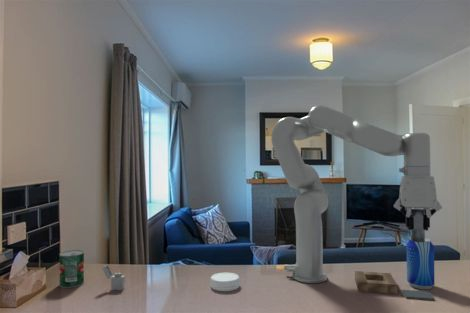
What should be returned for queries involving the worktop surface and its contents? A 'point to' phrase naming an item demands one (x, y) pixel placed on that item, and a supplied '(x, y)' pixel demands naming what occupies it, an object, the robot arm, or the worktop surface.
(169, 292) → the worktop surface
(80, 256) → the canned tomato
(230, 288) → the white cheese wheel
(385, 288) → the pocket block
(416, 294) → the mat
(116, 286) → the lighter
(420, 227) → the rod
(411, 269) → the beer can
